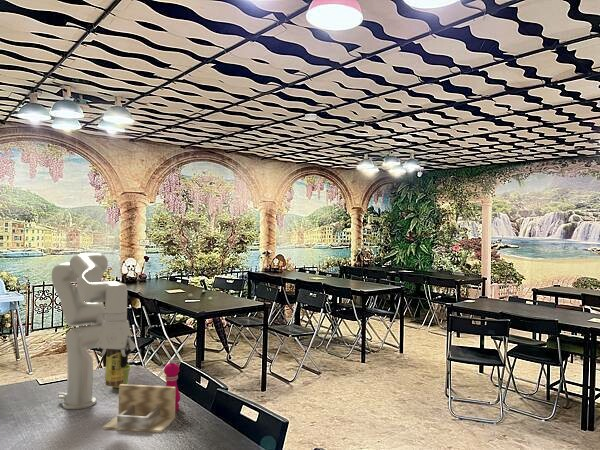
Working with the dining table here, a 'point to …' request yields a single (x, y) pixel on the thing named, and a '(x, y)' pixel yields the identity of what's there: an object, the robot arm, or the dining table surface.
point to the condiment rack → (144, 408)
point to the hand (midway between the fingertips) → (115, 365)
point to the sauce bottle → (114, 368)
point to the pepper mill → (172, 379)
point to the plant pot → (125, 375)
